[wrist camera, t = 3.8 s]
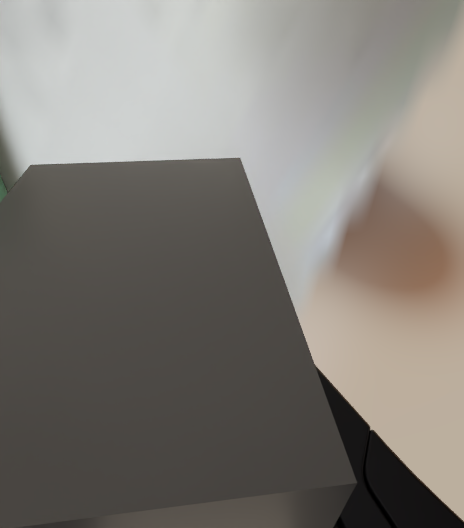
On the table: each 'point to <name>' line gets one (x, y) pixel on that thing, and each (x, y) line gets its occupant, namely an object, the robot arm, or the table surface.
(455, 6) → the table surface
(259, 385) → the grey ice pop
